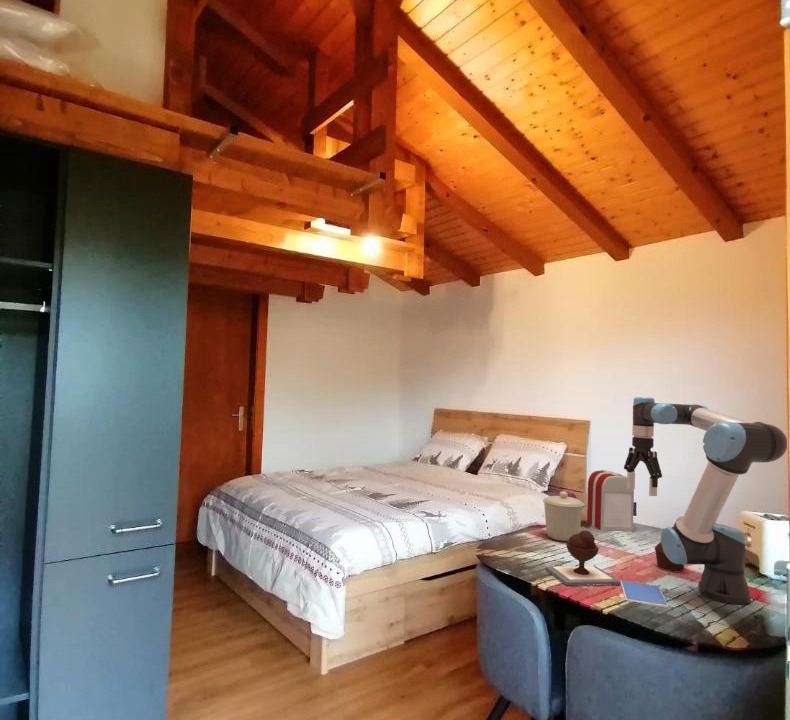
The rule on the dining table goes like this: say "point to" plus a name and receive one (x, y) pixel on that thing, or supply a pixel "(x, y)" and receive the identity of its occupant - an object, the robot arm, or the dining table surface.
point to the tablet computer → (643, 594)
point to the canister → (562, 516)
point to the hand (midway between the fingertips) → (641, 492)
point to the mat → (568, 582)
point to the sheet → (572, 576)
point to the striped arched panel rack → (609, 502)
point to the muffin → (666, 560)
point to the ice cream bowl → (582, 549)
